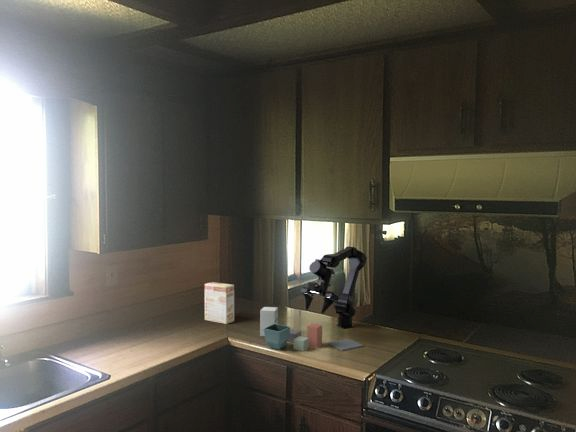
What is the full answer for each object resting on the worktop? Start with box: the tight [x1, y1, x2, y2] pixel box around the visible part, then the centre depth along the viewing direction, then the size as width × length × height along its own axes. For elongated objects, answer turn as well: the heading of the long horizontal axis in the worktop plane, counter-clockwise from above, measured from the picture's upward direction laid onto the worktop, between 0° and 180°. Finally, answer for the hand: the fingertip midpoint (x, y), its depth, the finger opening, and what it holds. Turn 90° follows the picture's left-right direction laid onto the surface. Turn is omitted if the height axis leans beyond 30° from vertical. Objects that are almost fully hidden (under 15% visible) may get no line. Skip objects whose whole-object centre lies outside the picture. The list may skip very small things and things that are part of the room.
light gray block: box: [287, 329, 302, 344], centre depth 230 cm, size 5×5×4 cm
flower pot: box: [264, 323, 291, 350], centre depth 221 cm, size 9×9×9 cm
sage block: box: [292, 336, 310, 352], centre depth 220 cm, size 5×5×4 cm
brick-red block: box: [306, 322, 323, 349], centre depth 224 cm, size 5×5×9 cm
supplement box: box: [259, 306, 279, 337], centre depth 239 cm, size 7×7×13 cm
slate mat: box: [326, 338, 364, 352], centre depth 225 cm, size 12×11×1 cm
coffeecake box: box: [204, 281, 235, 325], centre depth 262 cm, size 15×7×20 cm, turn 58°
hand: (314, 311), depth 233 cm, fingers open, 9 cm apart
